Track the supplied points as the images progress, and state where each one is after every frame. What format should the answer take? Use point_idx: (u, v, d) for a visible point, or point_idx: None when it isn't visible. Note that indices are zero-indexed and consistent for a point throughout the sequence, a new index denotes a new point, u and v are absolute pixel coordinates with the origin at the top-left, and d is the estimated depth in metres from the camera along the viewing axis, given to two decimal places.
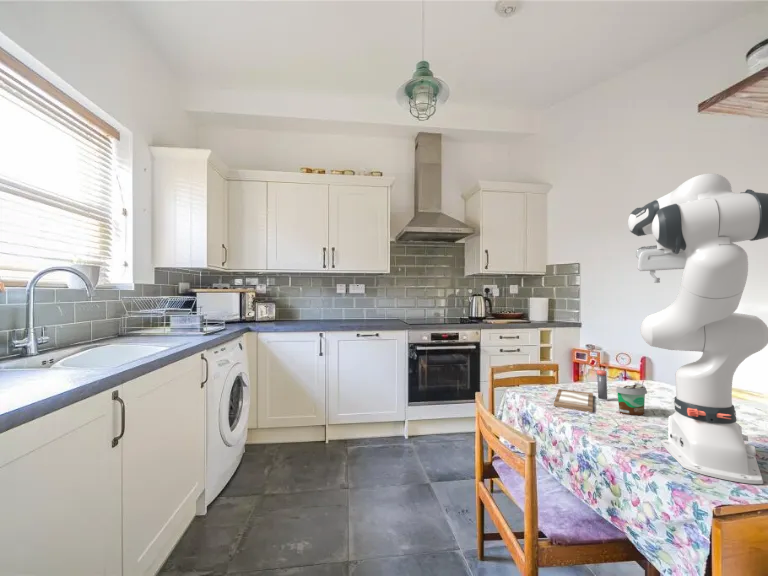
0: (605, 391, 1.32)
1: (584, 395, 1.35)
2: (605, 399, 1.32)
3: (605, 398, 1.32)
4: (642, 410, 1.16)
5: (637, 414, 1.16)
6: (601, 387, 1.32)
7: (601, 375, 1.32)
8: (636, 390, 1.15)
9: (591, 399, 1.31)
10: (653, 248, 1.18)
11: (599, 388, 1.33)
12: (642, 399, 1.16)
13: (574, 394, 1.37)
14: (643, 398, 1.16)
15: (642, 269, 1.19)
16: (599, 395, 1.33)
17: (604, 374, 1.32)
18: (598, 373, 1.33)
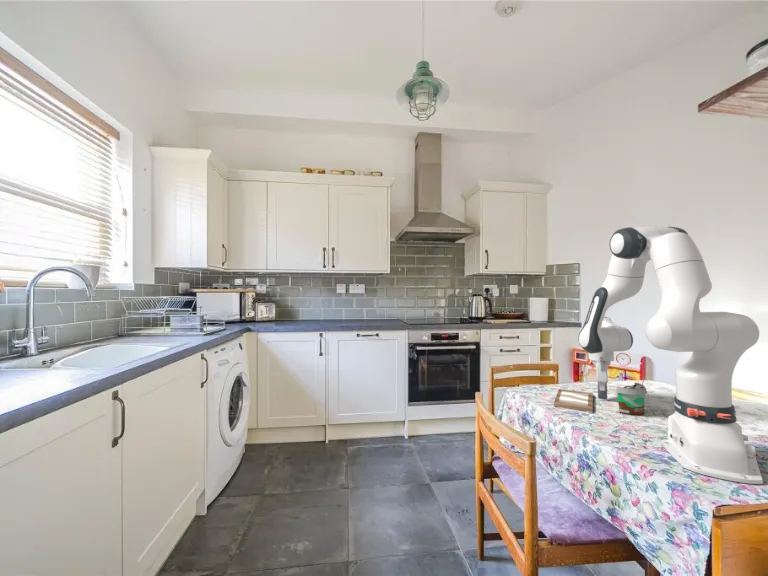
0: (605, 391, 1.32)
1: (584, 395, 1.35)
2: (605, 399, 1.32)
3: (605, 398, 1.32)
4: (642, 410, 1.16)
5: (637, 414, 1.16)
6: None
7: None
8: (636, 390, 1.15)
9: (591, 399, 1.31)
10: None
11: (599, 388, 1.33)
12: (642, 399, 1.16)
13: (574, 394, 1.37)
14: (643, 398, 1.16)
15: (607, 382, 1.25)
16: (599, 395, 1.33)
17: None
18: None
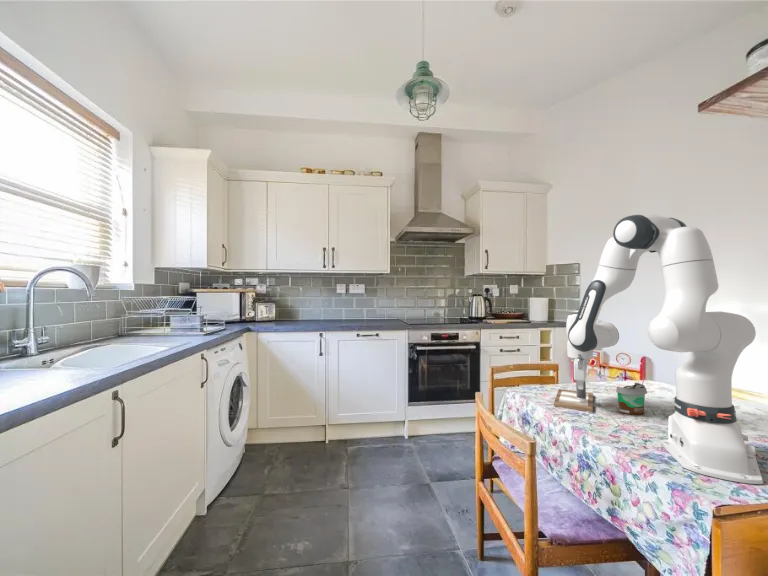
0: (583, 389, 1.26)
1: None
2: (583, 398, 1.26)
3: (583, 397, 1.26)
4: (642, 410, 1.16)
5: (637, 414, 1.16)
6: None
7: None
8: (636, 390, 1.15)
9: (591, 399, 1.31)
10: (580, 358, 1.23)
11: (577, 387, 1.27)
12: (642, 399, 1.16)
13: (574, 394, 1.37)
14: (643, 398, 1.16)
15: None
16: (577, 394, 1.27)
17: None
18: None
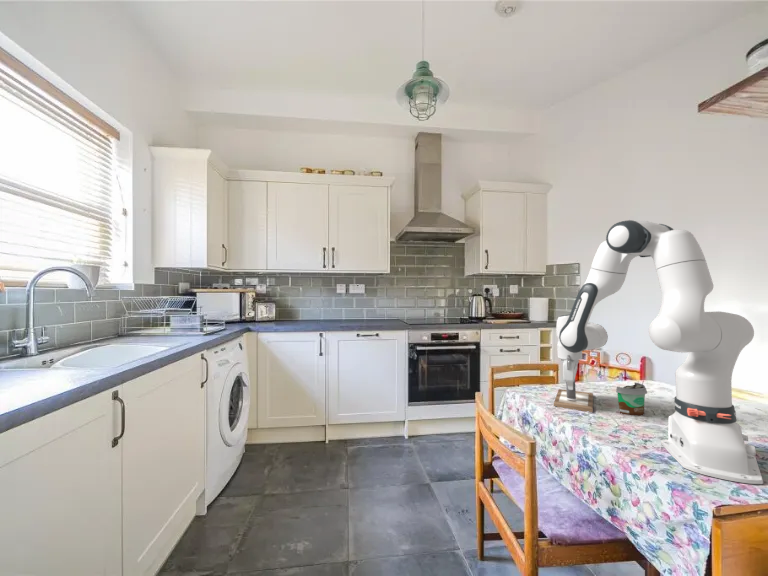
0: (573, 390, 1.28)
1: (584, 395, 1.35)
2: (573, 398, 1.28)
3: (573, 397, 1.28)
4: (642, 410, 1.16)
5: (637, 414, 1.16)
6: None
7: None
8: (636, 390, 1.15)
9: (591, 399, 1.31)
10: (569, 358, 1.26)
11: (567, 387, 1.30)
12: (642, 399, 1.16)
13: None
14: (643, 398, 1.16)
15: None
16: (567, 394, 1.30)
17: None
18: None
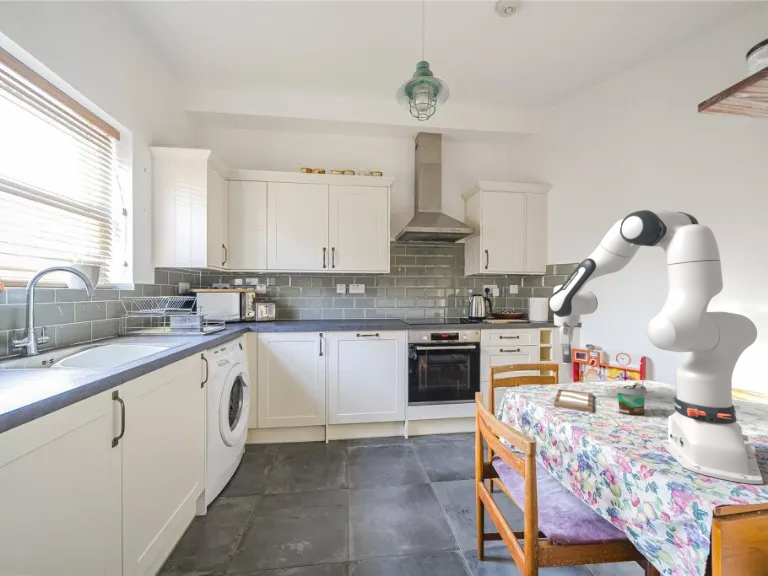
0: (569, 355, 1.36)
1: (584, 395, 1.35)
2: (569, 363, 1.36)
3: (569, 362, 1.36)
4: (642, 410, 1.16)
5: (637, 414, 1.16)
6: None
7: None
8: (636, 390, 1.15)
9: (591, 399, 1.31)
10: (565, 324, 1.34)
11: (563, 352, 1.38)
12: (642, 399, 1.16)
13: (574, 394, 1.37)
14: (643, 398, 1.16)
15: (569, 344, 1.30)
16: (563, 359, 1.38)
17: None
18: None
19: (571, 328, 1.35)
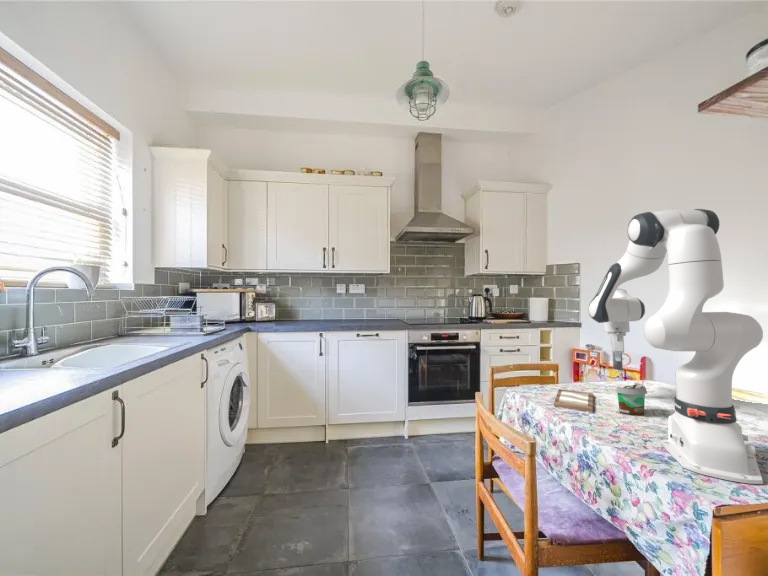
0: (620, 361, 1.34)
1: (584, 395, 1.35)
2: (620, 370, 1.34)
3: (620, 369, 1.34)
4: (642, 410, 1.16)
5: (637, 414, 1.16)
6: None
7: None
8: (636, 390, 1.15)
9: (591, 399, 1.31)
10: None
11: (614, 359, 1.35)
12: (642, 399, 1.16)
13: (574, 394, 1.37)
14: (643, 398, 1.16)
15: (623, 351, 1.27)
16: (614, 366, 1.35)
17: None
18: None
19: (623, 334, 1.32)
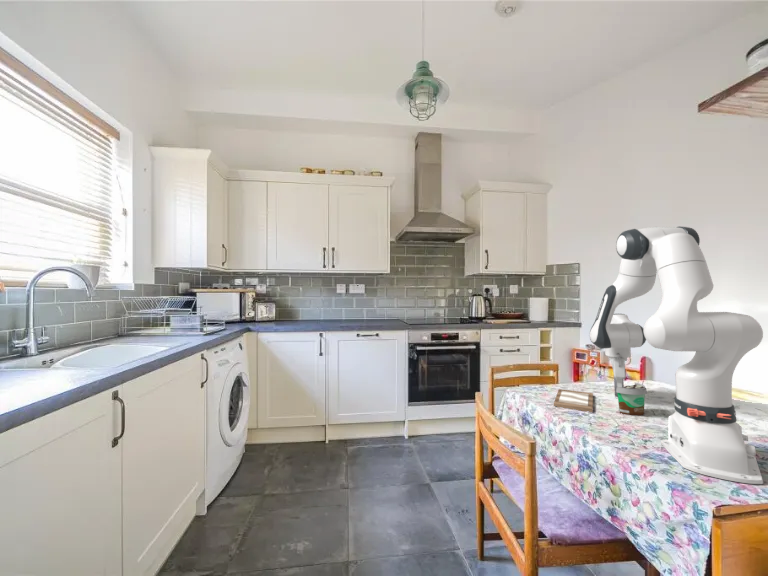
0: None
1: (584, 395, 1.35)
2: None
3: None
4: (642, 410, 1.16)
5: (637, 414, 1.16)
6: None
7: None
8: (636, 390, 1.15)
9: (591, 399, 1.31)
10: (619, 356, 1.31)
11: (616, 386, 1.35)
12: (642, 399, 1.16)
13: (574, 394, 1.37)
14: (643, 398, 1.16)
15: (625, 377, 1.27)
16: (616, 393, 1.35)
17: None
18: None
19: (624, 359, 1.32)
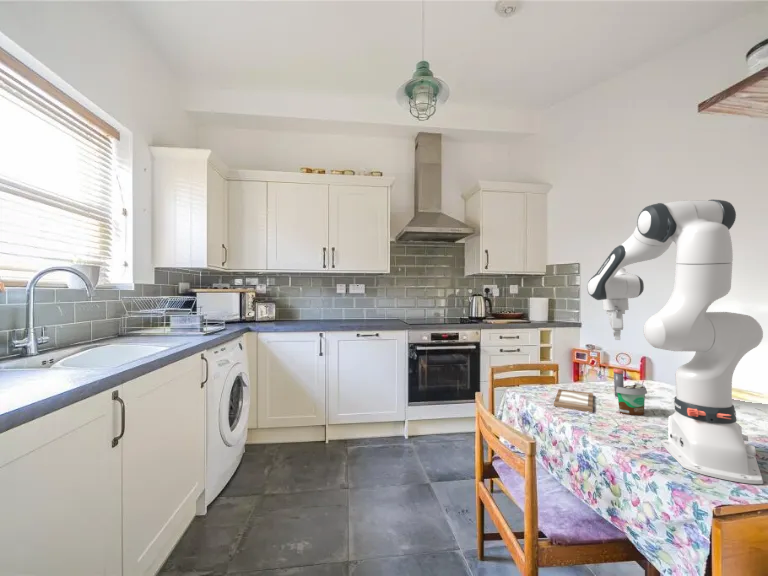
0: None
1: (584, 395, 1.35)
2: None
3: None
4: (642, 410, 1.16)
5: (637, 414, 1.16)
6: (618, 385, 1.34)
7: (618, 373, 1.34)
8: (636, 390, 1.15)
9: (591, 399, 1.31)
10: None
11: (616, 386, 1.35)
12: (642, 399, 1.16)
13: (574, 394, 1.37)
14: (643, 398, 1.16)
15: (622, 328, 1.27)
16: (616, 393, 1.35)
17: (621, 372, 1.33)
18: (615, 371, 1.35)
19: (622, 312, 1.33)
